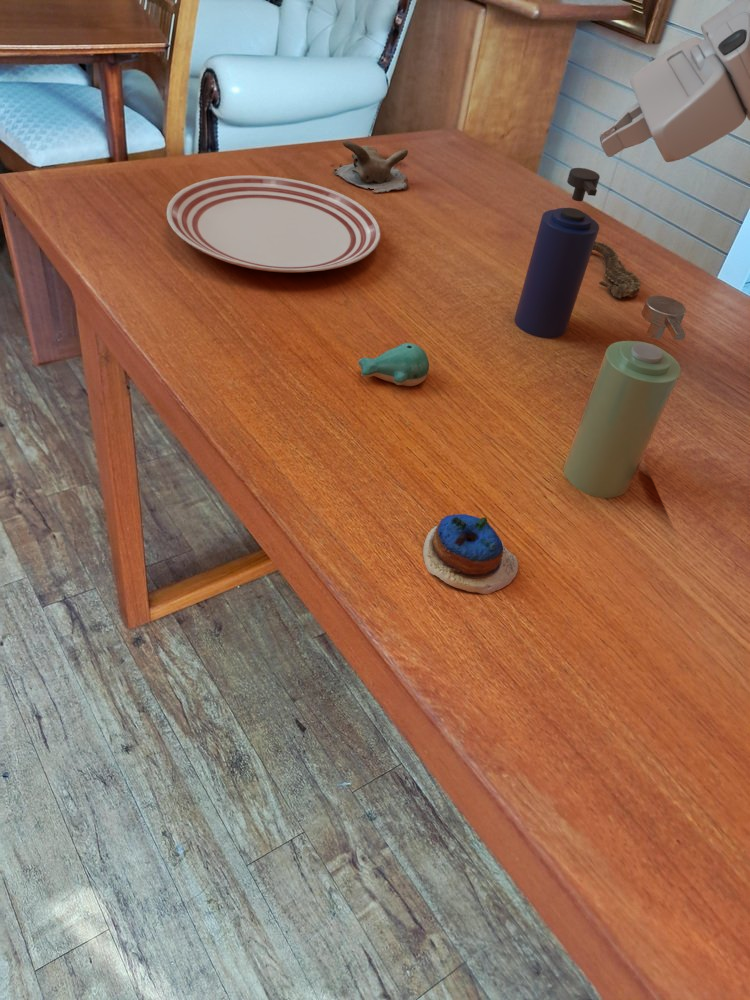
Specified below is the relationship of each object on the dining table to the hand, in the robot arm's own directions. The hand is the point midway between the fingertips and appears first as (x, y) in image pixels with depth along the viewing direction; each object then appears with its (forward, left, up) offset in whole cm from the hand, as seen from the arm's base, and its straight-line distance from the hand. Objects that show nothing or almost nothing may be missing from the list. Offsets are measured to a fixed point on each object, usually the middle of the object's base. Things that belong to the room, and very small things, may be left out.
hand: (602, 146), depth 81 cm
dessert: (+15, +39, -22) cm, 47 cm away
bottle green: (+1, +27, -22) cm, 34 cm away
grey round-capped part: (+1, +28, -6) cm, 29 cm away
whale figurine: (+20, +13, -22) cm, 32 cm away
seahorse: (-11, -16, -22) cm, 30 cm away
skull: (+20, -42, -22) cm, 52 cm away
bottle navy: (+1, -1, -22) cm, 22 cm away
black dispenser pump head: (+1, 0, -6) cm, 6 cm away
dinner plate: (+34, -17, -22) cm, 44 cm away
